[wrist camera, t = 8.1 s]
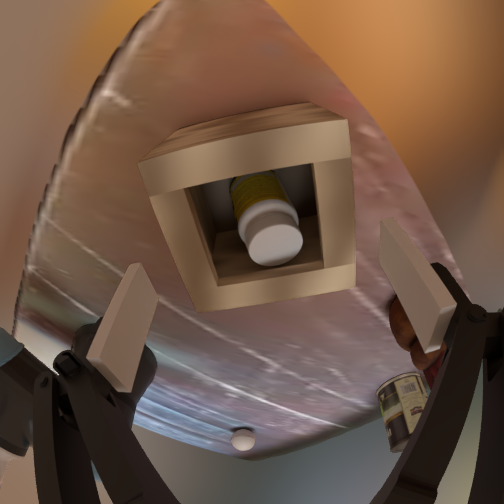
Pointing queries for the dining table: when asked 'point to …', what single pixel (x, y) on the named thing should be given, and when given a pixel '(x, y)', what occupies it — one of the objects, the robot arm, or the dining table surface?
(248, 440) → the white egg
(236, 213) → the supplement bottle
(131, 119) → the dining table surface
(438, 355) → the wooden figurine
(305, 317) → the dining table surface
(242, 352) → the dining table surface
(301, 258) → the drop box
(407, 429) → the coffee can
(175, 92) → the dining table surface
